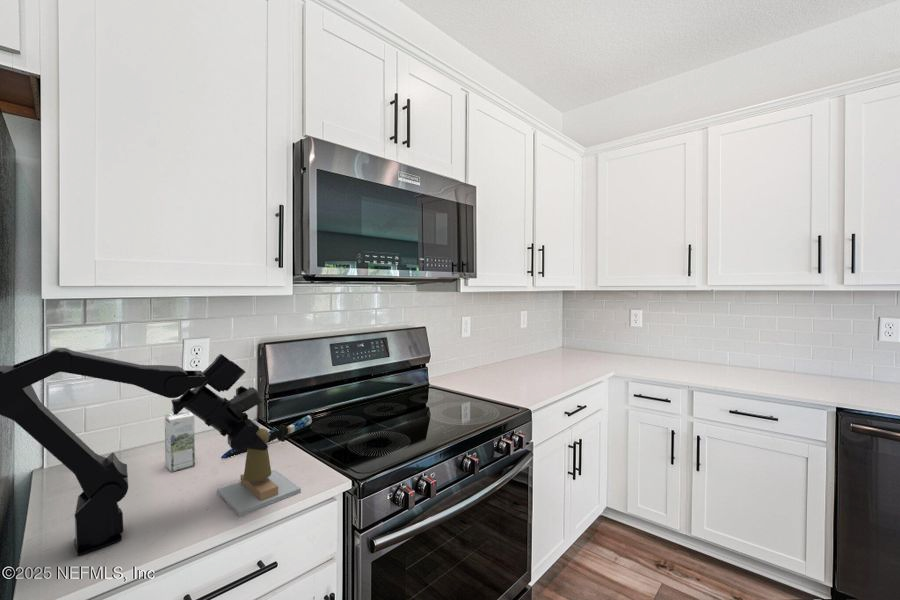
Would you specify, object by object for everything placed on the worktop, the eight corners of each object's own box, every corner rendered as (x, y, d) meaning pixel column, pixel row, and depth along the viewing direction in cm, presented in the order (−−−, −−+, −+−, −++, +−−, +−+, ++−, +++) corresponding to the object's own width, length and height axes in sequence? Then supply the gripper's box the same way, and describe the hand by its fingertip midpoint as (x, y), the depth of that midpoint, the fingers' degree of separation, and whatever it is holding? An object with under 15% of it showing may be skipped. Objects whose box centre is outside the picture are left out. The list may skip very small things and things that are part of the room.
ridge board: (239, 516, 88) (238, 503, 88) (217, 493, 98) (216, 481, 97) (300, 492, 98) (300, 480, 98) (275, 473, 108) (275, 462, 108)
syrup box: (189, 459, 116) (188, 409, 115) (195, 466, 112) (194, 414, 111) (165, 466, 112) (164, 414, 111) (171, 473, 108) (169, 419, 107)
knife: (313, 424, 141) (311, 412, 140) (318, 426, 139) (316, 414, 138) (218, 464, 118) (216, 449, 117) (222, 467, 116) (220, 452, 115)
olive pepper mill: (254, 483, 93) (254, 436, 93) (237, 477, 96) (237, 431, 96) (276, 473, 99) (276, 428, 98) (260, 467, 102) (260, 424, 101)
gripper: (248, 387, 87) (300, 427, 94) (230, 371, 101) (276, 407, 109) (206, 431, 82) (264, 470, 90) (193, 408, 97) (244, 443, 104)
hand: (263, 445), depth 98 cm, fingers closed on olive pepper mill, 5 cm apart
